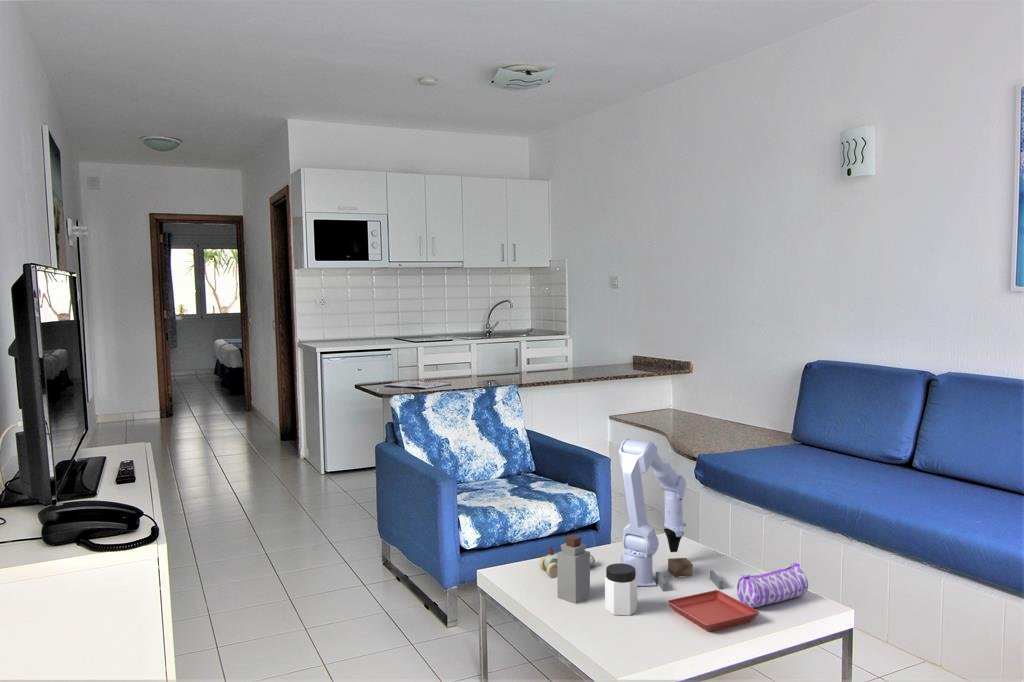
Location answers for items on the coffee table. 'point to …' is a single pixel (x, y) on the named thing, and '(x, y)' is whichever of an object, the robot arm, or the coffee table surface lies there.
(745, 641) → the coffee table surface
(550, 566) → the toy dog
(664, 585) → the lane
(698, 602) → the plant saucer
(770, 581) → the pencil case
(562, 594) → the perfume bottle
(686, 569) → the walnut block
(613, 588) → the jar
